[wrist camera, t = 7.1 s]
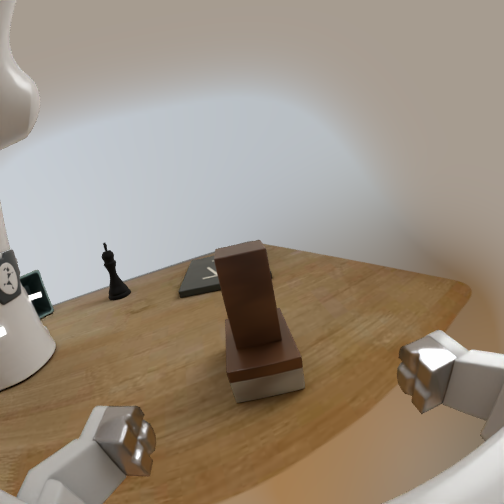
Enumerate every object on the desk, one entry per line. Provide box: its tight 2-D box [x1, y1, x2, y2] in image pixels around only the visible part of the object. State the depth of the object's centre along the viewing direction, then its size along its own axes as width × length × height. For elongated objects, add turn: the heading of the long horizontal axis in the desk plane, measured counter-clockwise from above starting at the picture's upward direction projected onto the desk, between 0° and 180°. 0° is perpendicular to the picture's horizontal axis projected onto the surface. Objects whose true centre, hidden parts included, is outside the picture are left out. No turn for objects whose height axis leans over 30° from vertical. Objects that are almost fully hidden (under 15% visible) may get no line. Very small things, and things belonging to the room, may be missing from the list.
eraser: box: [214, 240, 305, 403], centre depth 21 cm, size 5×8×10 cm, turn 5°
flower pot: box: [20, 270, 54, 318], centre depth 41 cm, size 9×9×9 cm
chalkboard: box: [179, 256, 272, 297], centre depth 50 cm, size 14×18×1 cm
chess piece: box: [102, 243, 131, 300], centre depth 46 cm, size 4×4×10 cm
